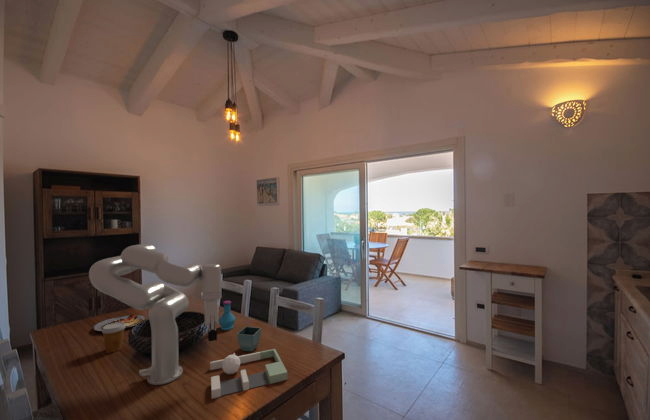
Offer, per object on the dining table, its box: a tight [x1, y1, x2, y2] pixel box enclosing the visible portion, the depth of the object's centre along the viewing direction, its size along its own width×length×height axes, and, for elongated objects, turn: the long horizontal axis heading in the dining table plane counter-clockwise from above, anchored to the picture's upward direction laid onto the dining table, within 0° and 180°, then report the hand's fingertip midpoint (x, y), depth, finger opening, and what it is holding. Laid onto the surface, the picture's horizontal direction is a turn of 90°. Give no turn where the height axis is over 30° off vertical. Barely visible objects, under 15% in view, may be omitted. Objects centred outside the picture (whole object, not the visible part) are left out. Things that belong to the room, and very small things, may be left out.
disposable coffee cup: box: [101, 322, 126, 354], centre depth 138 cm, size 10×10×12 cm
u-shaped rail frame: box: [209, 348, 288, 400], centre depth 116 cm, size 28×21×3 cm
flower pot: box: [237, 326, 262, 352], centre depth 137 cm, size 9×9×9 cm
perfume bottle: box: [218, 300, 237, 331], centre depth 164 cm, size 9×9×15 cm
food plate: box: [93, 314, 146, 332], centre depth 168 cm, size 25×23×4 cm
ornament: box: [221, 352, 241, 375], centre depth 118 cm, size 7×7×8 cm
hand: (212, 339), depth 115 cm, fingers closed
